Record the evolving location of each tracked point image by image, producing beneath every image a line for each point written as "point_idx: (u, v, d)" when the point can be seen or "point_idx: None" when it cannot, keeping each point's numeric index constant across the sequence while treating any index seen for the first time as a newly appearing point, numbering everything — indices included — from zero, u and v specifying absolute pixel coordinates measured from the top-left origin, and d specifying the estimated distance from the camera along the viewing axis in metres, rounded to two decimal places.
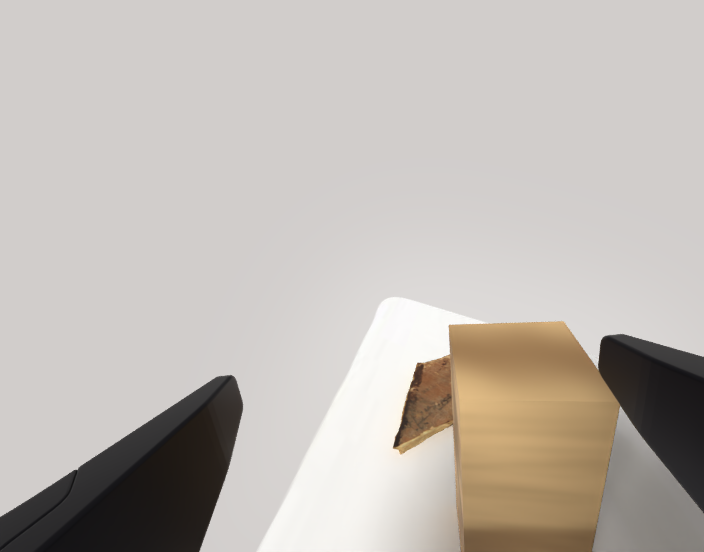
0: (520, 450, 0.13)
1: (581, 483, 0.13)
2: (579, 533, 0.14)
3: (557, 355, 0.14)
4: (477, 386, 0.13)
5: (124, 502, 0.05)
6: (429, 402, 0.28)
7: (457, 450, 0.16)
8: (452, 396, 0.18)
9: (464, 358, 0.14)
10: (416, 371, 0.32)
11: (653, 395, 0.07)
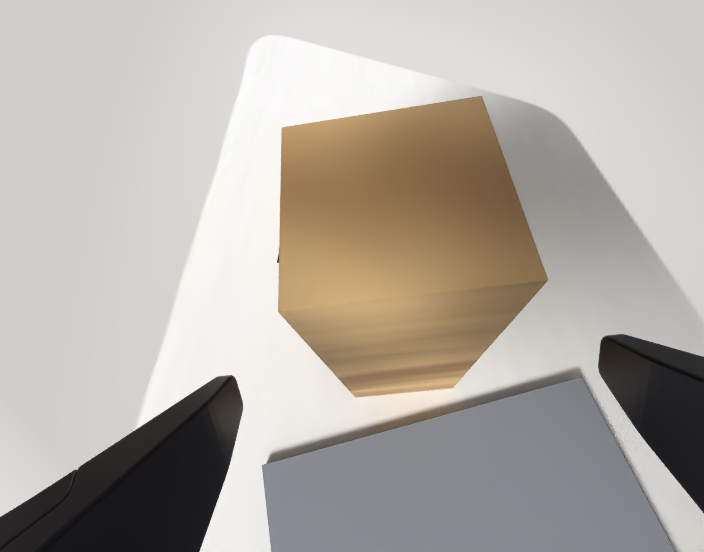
0: (390, 334, 0.09)
1: (468, 342, 0.10)
2: (459, 363, 0.12)
3: (459, 180, 0.08)
4: (313, 273, 0.07)
5: (125, 502, 0.05)
6: None
7: None
8: None
9: (299, 208, 0.08)
10: None
11: (653, 395, 0.07)
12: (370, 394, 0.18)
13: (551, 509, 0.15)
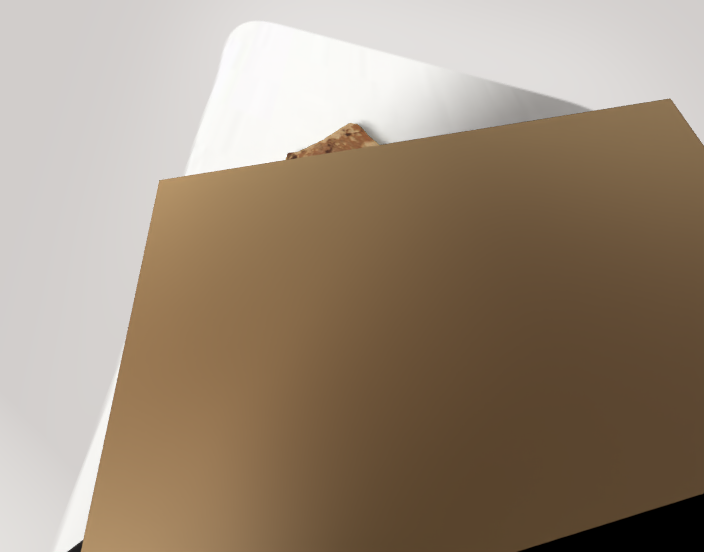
0: None
1: None
2: None
3: (681, 390, 0.02)
4: None
5: None
6: None
7: None
8: None
9: (155, 461, 0.02)
10: None
11: None
12: None
13: None
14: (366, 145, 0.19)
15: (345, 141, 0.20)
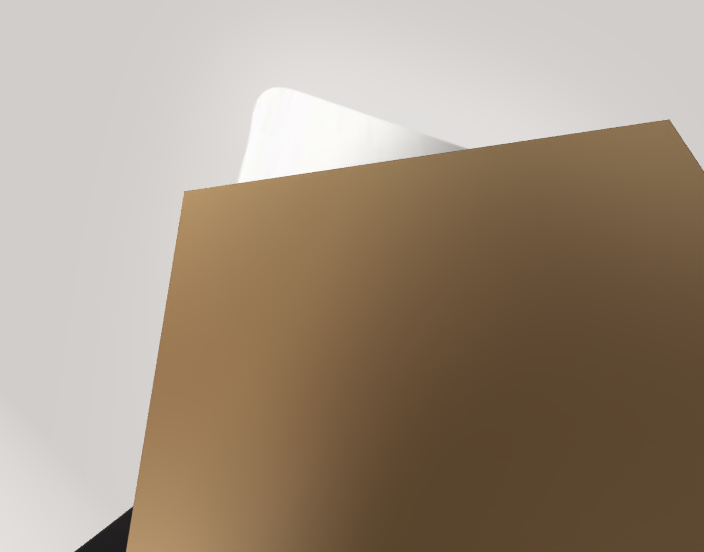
0: None
1: None
2: None
3: (678, 394, 0.02)
4: None
5: None
6: None
7: None
8: None
9: (194, 459, 0.03)
10: None
11: None
12: None
13: None
14: None
15: None
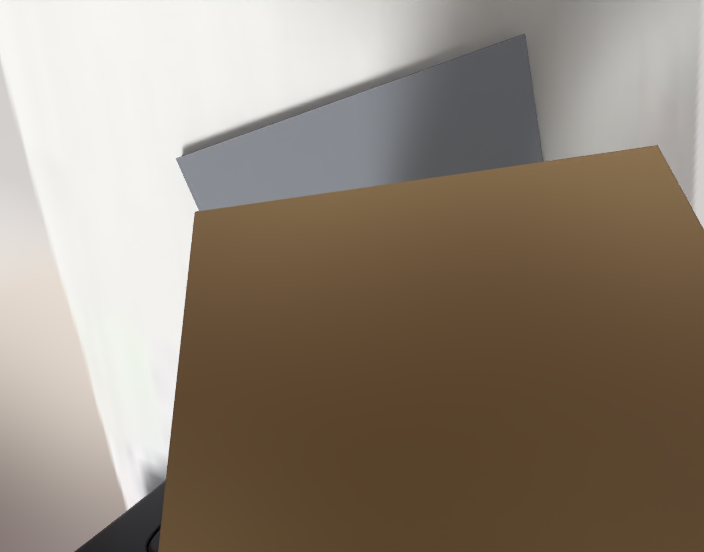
0: None
1: None
2: None
3: (650, 413, 0.03)
4: None
5: None
6: None
7: None
8: None
9: (215, 469, 0.03)
10: None
11: None
12: None
13: None
14: None
15: None
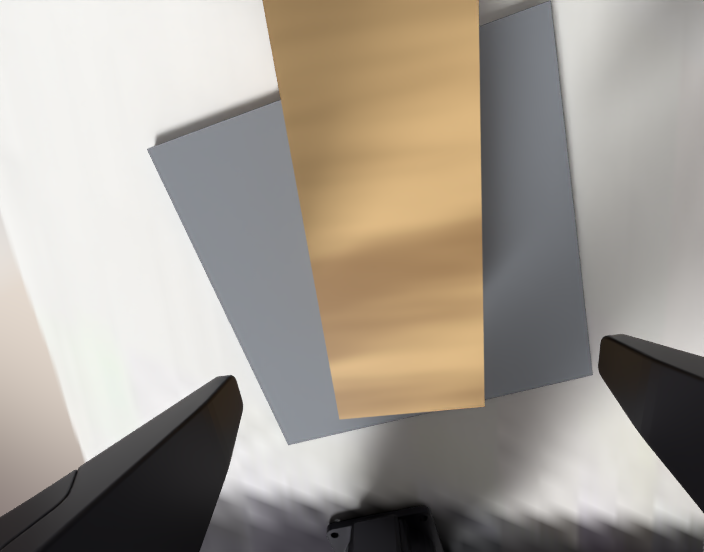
0: (359, 66, 0.09)
1: (450, 121, 0.09)
2: (462, 230, 0.10)
3: None
4: None
5: (124, 502, 0.05)
6: None
7: None
8: None
9: None
10: None
11: (653, 395, 0.07)
12: (361, 405, 0.12)
13: None
14: None
15: None
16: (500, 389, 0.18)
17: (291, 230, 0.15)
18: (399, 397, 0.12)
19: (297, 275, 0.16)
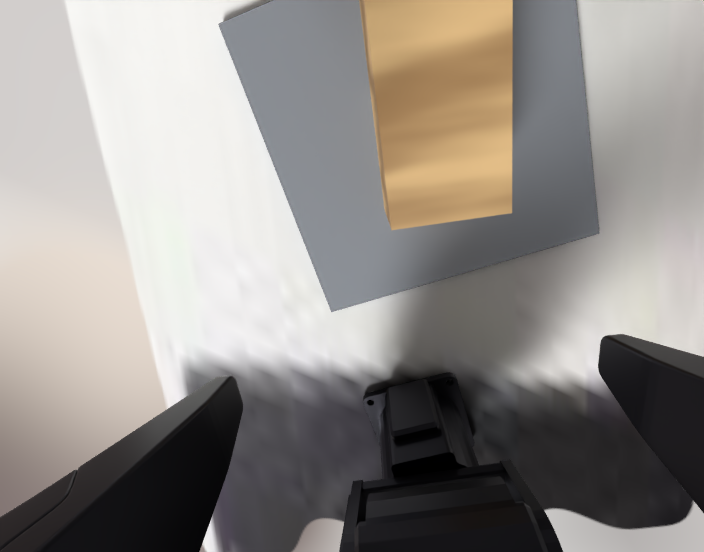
0: None
1: None
2: (496, 42, 0.12)
3: None
4: None
5: (124, 502, 0.05)
6: None
7: (364, 24, 0.14)
8: (361, 14, 0.16)
9: None
10: None
11: (653, 395, 0.07)
12: (409, 215, 0.15)
13: None
14: None
15: None
16: (518, 250, 0.20)
17: (339, 98, 0.18)
18: (441, 206, 0.15)
19: (343, 142, 0.18)
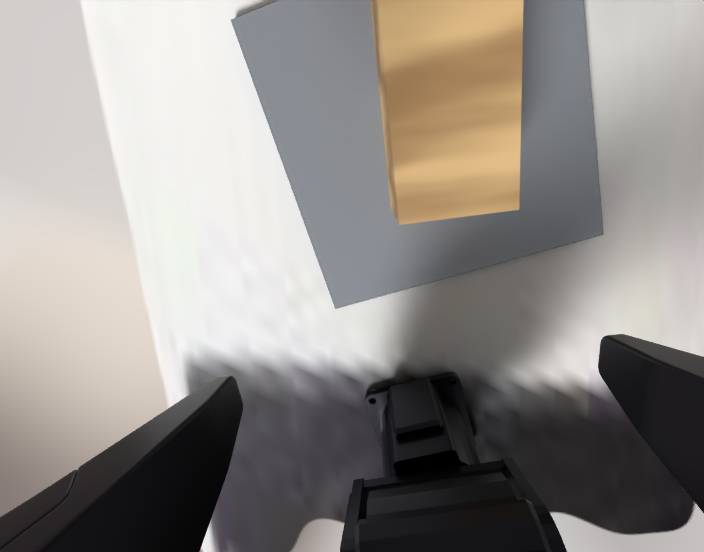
0: None
1: None
2: (507, 40, 0.13)
3: None
4: None
5: (124, 502, 0.05)
6: None
7: (376, 21, 0.14)
8: (372, 12, 0.16)
9: None
10: None
11: (653, 395, 0.07)
12: (417, 210, 0.15)
13: None
14: None
15: None
16: (523, 249, 0.20)
17: (349, 95, 0.18)
18: (449, 201, 0.15)
19: (351, 139, 0.19)
